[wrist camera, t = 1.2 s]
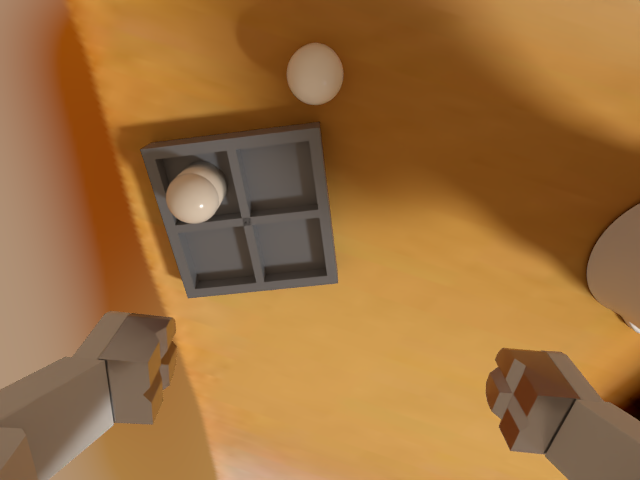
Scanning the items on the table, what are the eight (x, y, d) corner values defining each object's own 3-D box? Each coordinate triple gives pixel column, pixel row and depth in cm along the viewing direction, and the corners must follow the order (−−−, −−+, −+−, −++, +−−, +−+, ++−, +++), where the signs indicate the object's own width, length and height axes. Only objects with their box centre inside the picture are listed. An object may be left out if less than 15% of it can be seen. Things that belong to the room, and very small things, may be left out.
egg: (338, 39, 34) (341, 40, 29) (343, 95, 36) (347, 105, 31) (286, 46, 34) (279, 48, 29) (294, 101, 36) (289, 112, 31)
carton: (319, 121, 37) (319, 127, 35) (337, 270, 44) (338, 283, 41) (151, 142, 38) (140, 149, 35) (194, 285, 45) (187, 298, 42)
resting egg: (221, 158, 37) (205, 178, 32) (232, 203, 39) (218, 229, 34) (174, 164, 38) (151, 185, 32) (187, 208, 40) (167, 234, 34)
